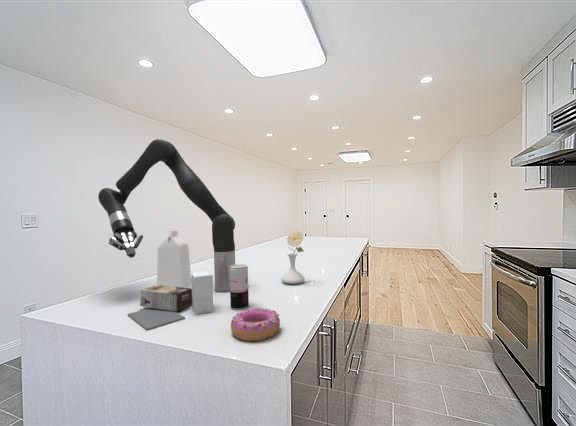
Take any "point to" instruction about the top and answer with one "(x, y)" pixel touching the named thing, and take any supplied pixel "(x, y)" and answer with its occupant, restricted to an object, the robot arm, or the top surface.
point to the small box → (202, 292)
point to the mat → (155, 317)
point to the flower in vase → (293, 259)
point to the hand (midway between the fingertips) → (132, 256)
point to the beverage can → (239, 286)
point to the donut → (255, 324)
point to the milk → (173, 262)
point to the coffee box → (166, 297)
